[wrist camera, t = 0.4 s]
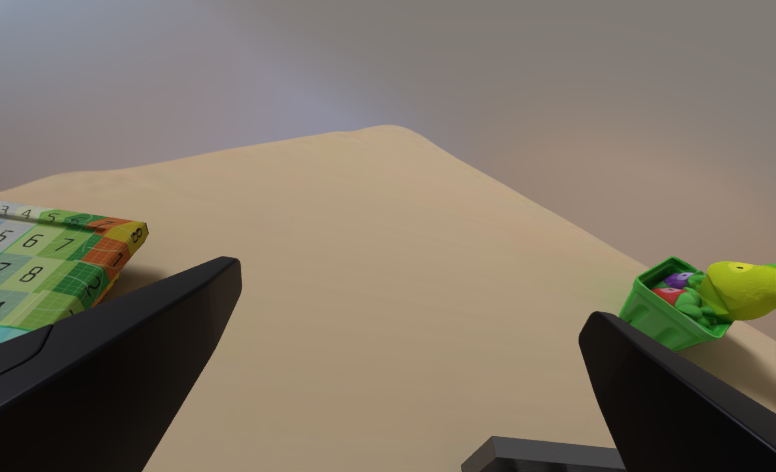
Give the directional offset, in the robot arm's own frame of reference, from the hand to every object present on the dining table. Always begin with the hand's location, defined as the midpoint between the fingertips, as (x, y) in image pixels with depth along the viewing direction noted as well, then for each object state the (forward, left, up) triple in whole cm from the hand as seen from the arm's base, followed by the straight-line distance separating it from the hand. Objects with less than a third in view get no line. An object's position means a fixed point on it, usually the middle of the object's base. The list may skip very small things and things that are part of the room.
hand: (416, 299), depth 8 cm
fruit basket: (+17, -34, -17) cm, 41 cm away
